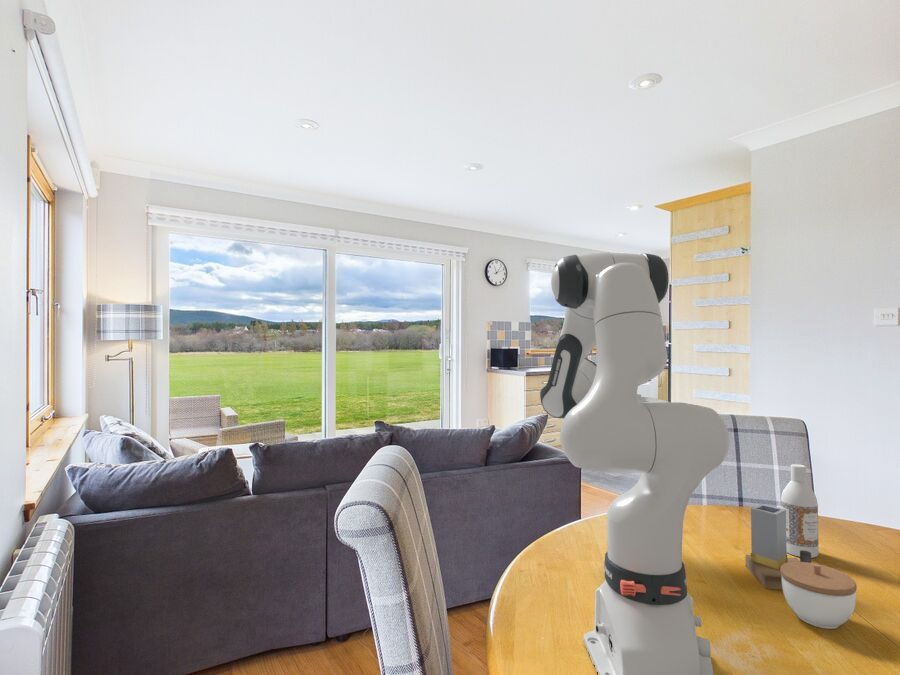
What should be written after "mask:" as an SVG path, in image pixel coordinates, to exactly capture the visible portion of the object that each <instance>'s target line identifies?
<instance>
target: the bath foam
mask: <svg viewBox="0 0 900 675" xmlns="http://www.w3.org/2000/svg"><path fill="white" fill-rule="evenodd" d="M781 492H782V493H781V496H780V497H781V498H780V509H785V510H786V542H787V554H789V555H792V556H796V557H797V558H798V557H799V558H800V551H801V550H803V551H808V552H810V553H811V559H813V558H816V557H818V556H819V554H820V552H819V548H820V547H819V545H820V544H819V504H818V499H817V496H816V494H815V492H814V490H813V489H812V488H811V487H810V485H809V484H808V482H807V466H806V465H803V464H799V463H795V464H794V463H793V464H790V481H789V482H788V483H787V485H786V486H785V487H784V488H783V490H782V491H781Z"/></svg>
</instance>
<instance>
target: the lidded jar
mask: <svg viewBox="0 0 900 675" xmlns="http://www.w3.org/2000/svg"><path fill="white" fill-rule="evenodd" d="M780 572H781V582H782V589H783V590H782V592H783V596H784V598H785V601H786V603H787V605H788V606H789V608H790V609H791V610H792V611H793V612H794V613H795V614H796V616H797V617H798V619H800V621H803V622H804V623H806V624H808V625H811V626H813V627H816V628H820V629H825V630H833V629H834V630H835V629H838V628H840V627H841V625H843V624H845V623H846V622H847V621H849V620H850V618H851V617H852V616H853V614H854V611H855V607H856V601H857V600H856V599H857V597H856V596H857V590H858V589H857V588H858V587H857V582H856V581H855V580H854V579H853V578H852V577H851V576H850V575H849V574H846V573H845V572H843V571H841V570H838V569H836V568H832V567H829V566H827V565H822V564H820V563H813V562H811V563H808V562H788V563H785V564H783V565H782V566H781V568H780Z"/></svg>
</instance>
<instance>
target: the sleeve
mask: <svg viewBox="0 0 900 675" xmlns="http://www.w3.org/2000/svg"><path fill="white" fill-rule="evenodd" d="M750 529H751V530H750V532H751V533H750V536H751V547H750V548H751V553H750V555H751V561H753V562H756V563H759V564H763V565H766V566H769V567H772V568H775V569H779V568H781V566H782V565H783V564H785V563H788V558H789V557H788V555H787V554H788V553H787V542H786V510H785V509H781V507H780V508H779V507H776V506H770V505H767V504H762V503H759V504H758V505H755V506H754V507H751V508H750Z"/></svg>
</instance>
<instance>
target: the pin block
mask: <svg viewBox="0 0 900 675" xmlns="http://www.w3.org/2000/svg"><path fill="white" fill-rule="evenodd" d="M744 557H745V568H746V569H748V571H749V572H750V573H751V574H752V575H753V576H754V578H756V580H757V579H758V580H757V581H758V583H760V584H761V585H762V586H763V587H764V589H765V588H768V589H767V590H778V591H783V589H782V582H781V572H780V568H779V569H775V568H772V567H769V566H766V565H763V564H759V563H756V562H753V561H751V554H745V556H744ZM787 558H788V562H808V563H812V558H811V553H810V552H808V551H803V550H801V551H800V557H799V559H798V557H787Z"/></svg>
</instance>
